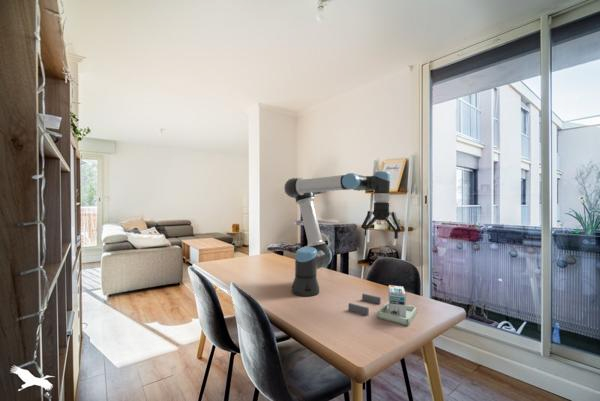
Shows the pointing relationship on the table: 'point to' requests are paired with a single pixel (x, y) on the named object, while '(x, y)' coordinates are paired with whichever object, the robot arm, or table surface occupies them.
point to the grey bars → (361, 308)
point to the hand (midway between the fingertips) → (380, 243)
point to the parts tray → (385, 315)
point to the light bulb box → (397, 301)
